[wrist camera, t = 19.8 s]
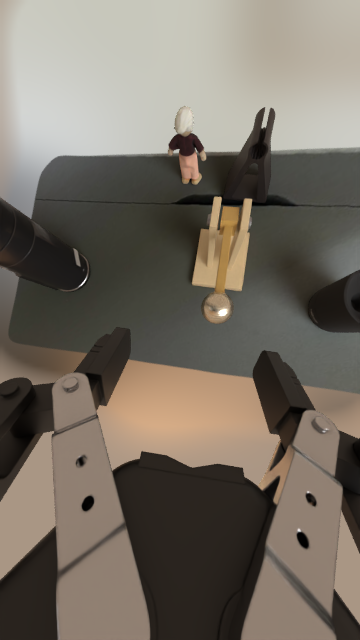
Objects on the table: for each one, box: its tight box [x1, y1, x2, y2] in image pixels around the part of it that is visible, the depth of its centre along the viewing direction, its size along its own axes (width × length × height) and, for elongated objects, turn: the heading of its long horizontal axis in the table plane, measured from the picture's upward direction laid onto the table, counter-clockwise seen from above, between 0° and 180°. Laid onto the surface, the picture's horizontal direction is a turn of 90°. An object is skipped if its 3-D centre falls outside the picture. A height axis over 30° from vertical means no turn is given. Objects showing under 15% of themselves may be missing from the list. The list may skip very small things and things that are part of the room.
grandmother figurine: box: [168, 106, 206, 185], centre depth 36 cm, size 8×4×13 cm, turn 86°
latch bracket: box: [192, 197, 252, 291], centre depth 32 cm, size 12×10×15 cm
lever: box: [201, 207, 239, 324], centre depth 23 cm, size 17×4×4 cm, turn 170°
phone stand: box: [223, 107, 275, 203], centre depth 34 cm, size 9×6×12 cm, turn 77°
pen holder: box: [309, 270, 360, 333], centre depth 30 cm, size 9×9×10 cm
